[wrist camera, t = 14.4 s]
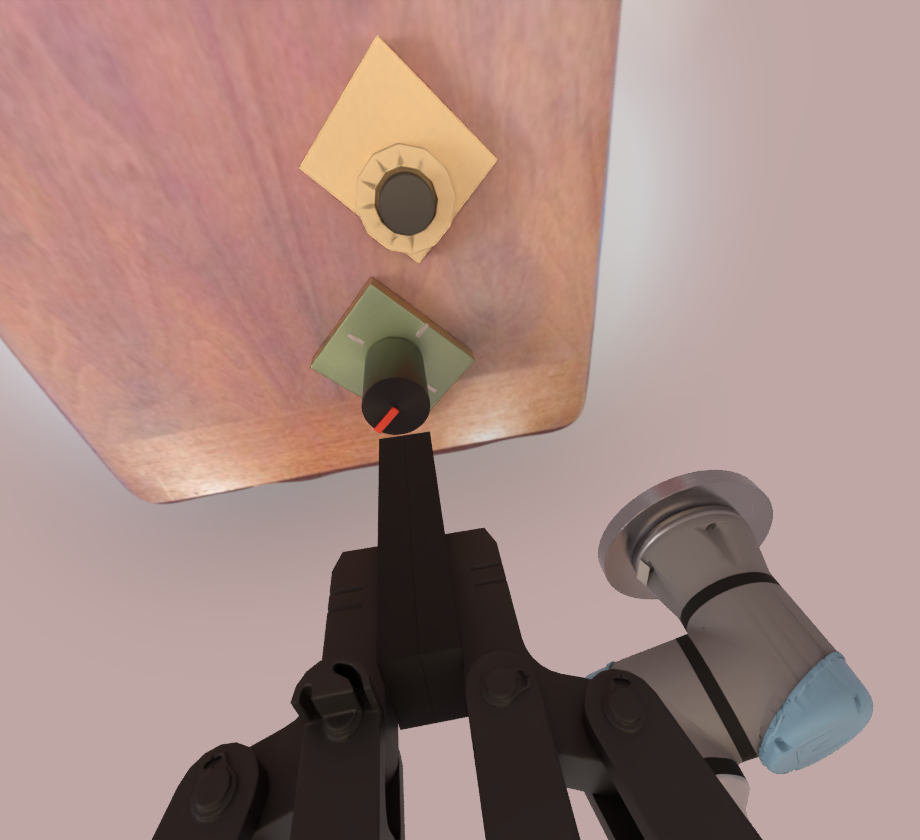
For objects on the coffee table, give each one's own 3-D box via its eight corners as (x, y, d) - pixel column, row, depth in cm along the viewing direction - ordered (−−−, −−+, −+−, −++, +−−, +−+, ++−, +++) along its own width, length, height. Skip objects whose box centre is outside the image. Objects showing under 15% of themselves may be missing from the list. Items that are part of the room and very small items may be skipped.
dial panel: (472, 349, 41) (476, 360, 39) (412, 417, 44) (413, 430, 42) (371, 275, 36) (371, 283, 34) (312, 358, 39) (308, 369, 37)
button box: (491, 157, 33) (504, 161, 29) (415, 259, 36) (418, 273, 33) (377, 39, 28) (376, 29, 25) (301, 168, 31) (292, 174, 28)
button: (443, 197, 30) (446, 201, 29) (411, 241, 32) (412, 246, 30) (400, 158, 29) (401, 160, 27) (368, 205, 30) (367, 210, 28)
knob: (387, 325, 36) (388, 366, 30) (435, 358, 39) (444, 402, 33) (353, 369, 38) (347, 416, 32) (400, 398, 40) (403, 447, 34)
